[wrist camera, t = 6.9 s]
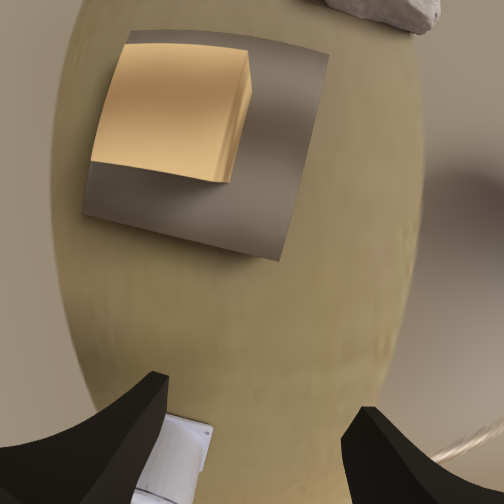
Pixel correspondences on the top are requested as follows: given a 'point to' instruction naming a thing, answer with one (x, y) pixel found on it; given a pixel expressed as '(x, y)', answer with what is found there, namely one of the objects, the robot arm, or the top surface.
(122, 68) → the maple cube
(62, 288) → the top surface
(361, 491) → the robot arm
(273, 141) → the base block
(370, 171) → the top surface
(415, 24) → the stone block
